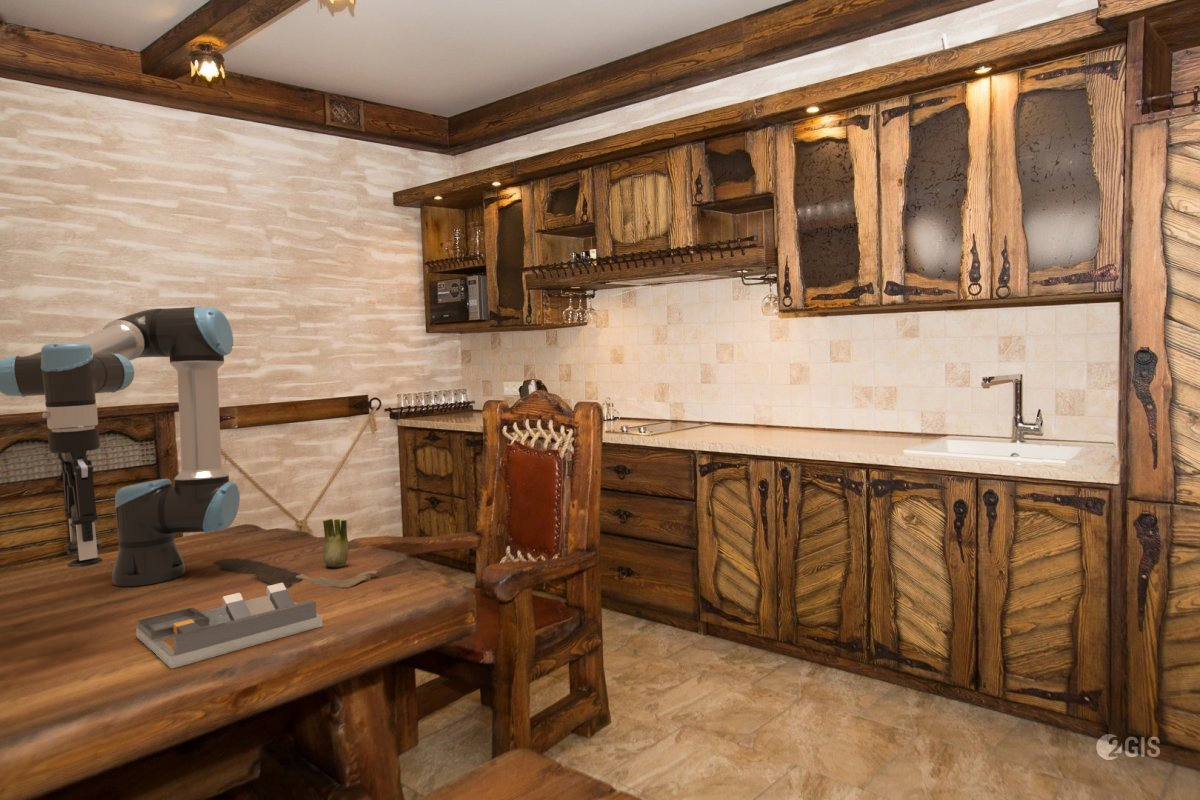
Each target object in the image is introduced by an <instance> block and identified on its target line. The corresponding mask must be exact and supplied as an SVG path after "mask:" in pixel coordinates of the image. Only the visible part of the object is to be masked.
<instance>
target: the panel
mask: <svg viewBox="0 0 1200 800" xmlns="http://www.w3.org/2000/svg"><path fill="white" fill-rule="evenodd" d="M244 602H245V604H246V606H247V607H248V609H249V611H250V613H251V615H252V616H248V617H244V618H241V619H237V620H233V621H231V620H230V618H229V616H228V614H227V612H226V610H225V608H224V606H223V605H221V606H218V607H213V608H209V609H206V610H201V611H199V610H198V609H196V608H194V607H190V608H189V607H188V608H185V609H180V610H176V611H173V612H168V613H164V614H159V615H155V616H152V617H147V618H146V617H145V618H142V619H138V620H137V621H136V623H137V625H136V626H135V627H136V628H135V631H136V638H137V639H138V640H139V641H140V642H141V641H142V642H141V643H142V644H143V643H144V644H143V645H145V646H146V647H147V649H149V650H150V651H151V650H152V651H153V652H154V653H155V654H156V655H155V654H154V653H153V652H152V651H151V652H152V653H153V654H154V655H155V656H157V658H159V659H160V660H161V661H162V663H164V664H165V665H167V666H168V668H169V669H171V670H172V669H176V668H179V667H180V668H181V667H183V666H186V665H191V664H194V663H197V662H200V661H205V660H208V659H211V658H215V657H218V656H222V655H226V654H229V653H233V652H235V651H240V650H243V649H248V648H250V647H253V646H257V645H261V644H265V643H268V642H271V641H274V640H280V639H283V638H285V637H289V636H292V635H296V634H300V633H303V632H307V631H310V630H311V631H312V630H314V629H317V628H321V627H323V615H320V614H319V613H317V601H315V600H307V601H304V602H300V603H299V602H298V603H297V602H296V601H293V602H294V603H295V605H291V606H287V607H284V608H280V609H276V610H275V608H274V606H273V604H272V602H271V601H270V599H269V597H268V595H267V594H266V595H263V596H259V597H255V598H251V599H245V600H244ZM190 619H192V620H193V621H194V622H195V623H197V624H198V625H199V626H200V627H201V629H198V630H194V631H190V632H186V633H182V634H178V635H177V634H176V633H175V632H174V626H173V624H174V623H178V622H182V621H186V620H190Z"/></svg>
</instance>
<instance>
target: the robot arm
mask: <svg viewBox="0 0 1200 800" xmlns="http://www.w3.org/2000/svg"><path fill="white" fill-rule="evenodd" d="M233 346H234V336H233V331H232V327H231V324H230V322H229V320H228V318H227V316H226V315H225V314H224V313H223V311H221V310H219V309H218V308H215V307H204V306H203V307H202V306H194V307H191V306H190V307H189V306H188V307H173V308H151V309H146V310H142V311H138V312H136V313H135V312H134V313H131V314H129V315H125V316H124V317H121V318H117V319H115V320H112V321H109V322H108V323H106V324H105V325H104V326H103V328H102V329H101V330H98V331H95V332H93V333H89V334H87V335H84V336H81V337H79V338H76V339H73V340H70V341H68V342H64V343H63V342H61V343H48V344H44V345H43V346H42V347H41V349H40V351H38V352H36V353H33V354H30V355H24V356H20V355H14V356H10V357H9V356H8V357H3V358H1V359H0V393H1V394H3V395H6V396H9V397H11V396H12V397H17V396H18V397H23V398H25V397H29V396H30V397H31V396H32V397H33V396H34V397H35V396H44V398H45V399H44V400H45V405H44V406H45V409H46V412H43V413H42V414H41V416H42V418H43V419H46V425H47V429H49V430H51V431H50V432H48V434H47V439H48V451H49V452H50V453H52V454H64V460H61V462H60V466H61V470H62V480H63V493H64V506H65V508H64V512H65V513H66V514H67V517H68V528H69V537H70V542H71V541H72V526H70V524H71V523H73V525H76V532H77V543H78V554H79V560H80V561H81V560H86V559H92V558H97V557H99V556H98V554H99V553H97V543H96V539H97V534H96V524H95V523H96V522H95V521H96V520H98V514H97V505H96V504H97V503H96V496H95V495H96V493H95V485H94V466H93V465H92V461H91V460H88V455H87V452H88V451H94V450H97V449H99V448H100V445H101V444H100V431H99V429H98V428H96V426H98V425H99V419H98V418H99V417H98V408H97V407H98V406H97V405H98V404H97V402H96V394H105V393H107V394H108V393H117V392H118V391H123V390H125V389H127V388H128V387H130V385H131V384H132V383H133V380H134V378H135V369H134V366H133V364H132V362H131V361H133V360H135V359H137V358H139V359H140V358H169V364H170V365H171V366H172V367H173V368H174V369H176V372H177V389H178V391H177V392H178V393H177V395H178V415H179V416H178V417H179V438H180V439H179V440H180V443H179V444H180V465H181V470H180V472H179V473H178V474H177V475H176V476H175V477H174V484H172V481H171V480H170V478H161V479H155V480H149V481H143V482H139V483H135V484H130V485H126V486H123V487H121V488H119V489H117V491H116V492H115V498H114V499H115V500H114V502H115V503H114V505H115V506H114V510H115V518H116V530H117V542H118V552H117V556H116V559H115V563H114V565H113V569H112V573H111V578H112V585H114V586H116V587H117V586H118V587H140V586H147V585H153V584H159V583H163V582H167V581H171V580H174V579H176V578H180V577H181V576H183V575H184V574H185V573H186V565H185V564H186V563H185V562H184V560H183V557H182V554H181V553H180V550H179V548H178V546H177V544H176V541H175V534H189V533H206V534H207V533H212V532H221V531H224V530H227V529H228V528H230V526H231V525H232V524H233V523H234V521H235V519H236V517H237V515H238V512H239V506H240V500H241V498H240V497H241V496H240V495H241V494H240V489H239V486H238V485H237V483H235V482H233V481H230V477H229V476H230V474H229V473H228V472H227V471H226V470H225V469H223V466H222V448H221V446H222V445H221V444H222V443H221V425H220V422H221V421H220V399H219V398H220V397H219V377H218V375H219V374H218V371H219V368H221V367H222V366H223V365H224V364H225V356H227V355H229V354H231V352H232V351H233ZM74 504H75V508H76V515H77V521H73V522H72V518H71V507H72V506H73V505H74ZM84 514H86V515H84Z"/></svg>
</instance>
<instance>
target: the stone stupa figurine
mask: <svg viewBox="0 0 1200 800" xmlns="http://www.w3.org/2000/svg"><path fill="white" fill-rule="evenodd" d="M84 515H86V514H84ZM71 518H72V522H73V521H77V515H76V508H75V504H74V505H73V506H72V507H71ZM71 518H70V519H71ZM70 526H72V541H71V540H70V542H69V543H67V544H64V546H63V548H64V549H65V552H66V553H67V556H69V557H70V558H72V559H74V560H71V561H70V562H69V563H68V564H67V567H69V568H81V567H89V566H92V565H96V564H99V563H102V561H103V559H102V558H101V557H99V556H98V557H97V558H92V559H86V560H81V561H80V560H79V554H78V543H77V532H76V525H73V523H71V524H70ZM103 541H104V540H102V539H98V538H96V543H97V554H99V552H100V550H101V548H102V543H103Z"/></svg>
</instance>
